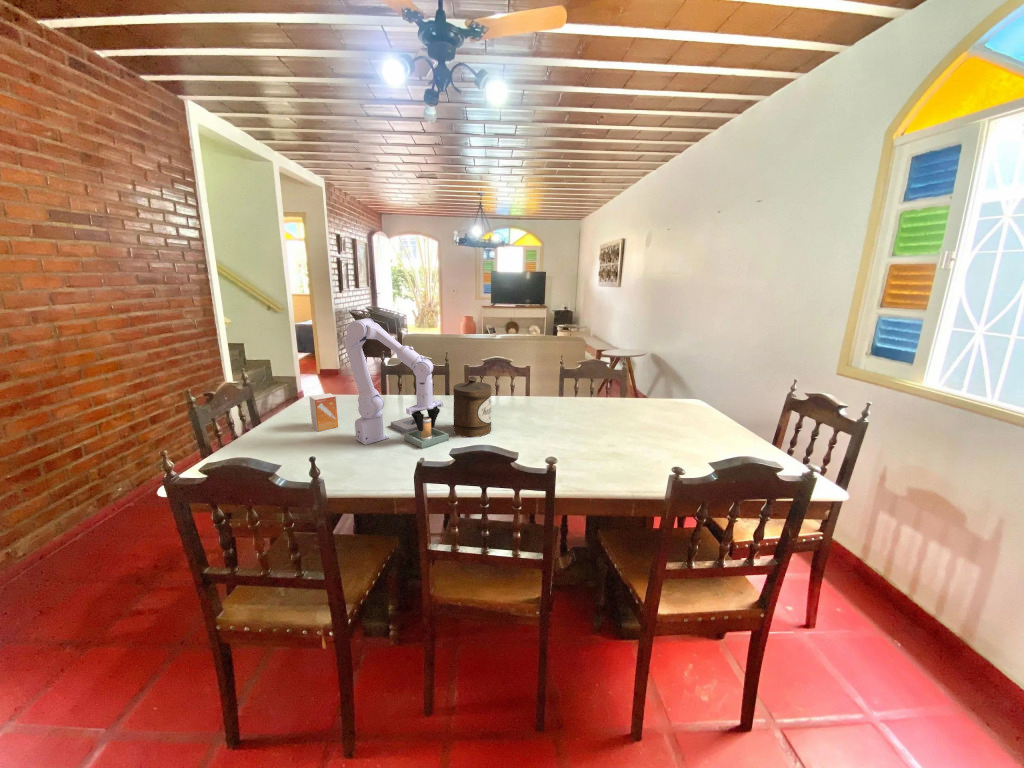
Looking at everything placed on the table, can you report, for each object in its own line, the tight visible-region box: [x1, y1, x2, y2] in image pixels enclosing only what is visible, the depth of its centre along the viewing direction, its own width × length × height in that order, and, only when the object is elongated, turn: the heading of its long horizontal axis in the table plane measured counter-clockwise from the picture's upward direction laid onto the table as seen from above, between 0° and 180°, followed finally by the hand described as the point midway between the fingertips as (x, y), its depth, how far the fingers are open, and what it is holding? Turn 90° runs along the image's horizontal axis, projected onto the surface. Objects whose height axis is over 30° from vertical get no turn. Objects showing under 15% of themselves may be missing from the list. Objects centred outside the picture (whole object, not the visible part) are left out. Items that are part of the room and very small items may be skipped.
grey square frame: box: [390, 415, 418, 434], centre depth 166 cm, size 12×12×2 cm
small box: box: [308, 392, 339, 433], centre depth 162 cm, size 8×6×13 cm
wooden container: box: [453, 375, 492, 438], centre depth 160 cm, size 15×15×22 cm
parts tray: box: [403, 427, 450, 450], centre depth 152 cm, size 12×12×2 cm
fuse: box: [420, 416, 432, 441], centre depth 151 cm, size 4×4×8 cm
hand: (426, 428), depth 151 cm, fingers open, 4 cm apart
